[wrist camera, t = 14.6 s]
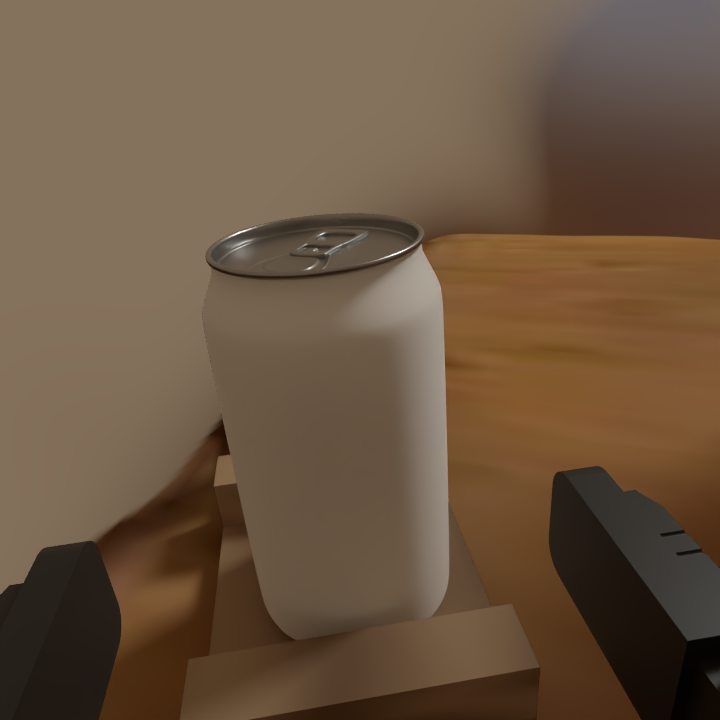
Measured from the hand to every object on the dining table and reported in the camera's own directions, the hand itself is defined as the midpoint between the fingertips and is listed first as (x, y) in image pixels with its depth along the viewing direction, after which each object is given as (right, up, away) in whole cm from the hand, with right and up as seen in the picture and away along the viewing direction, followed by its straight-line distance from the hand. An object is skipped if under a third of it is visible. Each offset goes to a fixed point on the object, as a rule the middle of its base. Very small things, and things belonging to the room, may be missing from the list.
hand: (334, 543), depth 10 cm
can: (0, -5, +10) cm, 11 cm away
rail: (-1, -3, +15) cm, 15 cm away
